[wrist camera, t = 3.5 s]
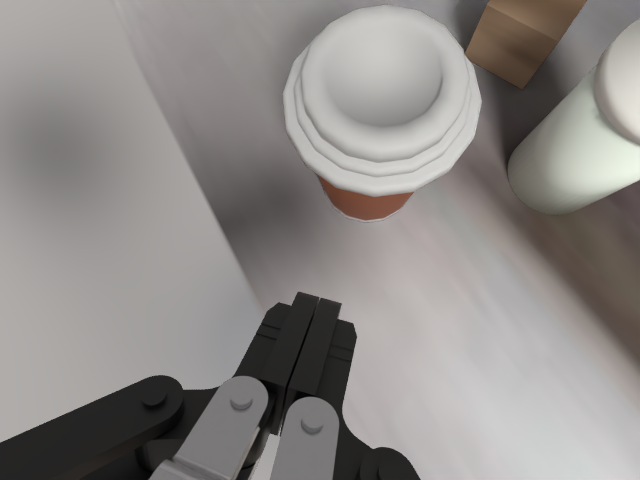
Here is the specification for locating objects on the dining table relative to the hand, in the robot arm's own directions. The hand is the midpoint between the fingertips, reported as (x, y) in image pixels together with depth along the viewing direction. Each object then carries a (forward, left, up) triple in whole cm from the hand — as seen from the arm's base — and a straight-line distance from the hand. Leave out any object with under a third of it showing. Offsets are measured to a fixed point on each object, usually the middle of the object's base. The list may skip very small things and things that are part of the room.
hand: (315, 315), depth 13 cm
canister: (-18, +2, -13) cm, 23 cm away
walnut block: (-23, -7, -13) cm, 28 cm away
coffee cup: (-8, -6, -13) cm, 17 cm away
